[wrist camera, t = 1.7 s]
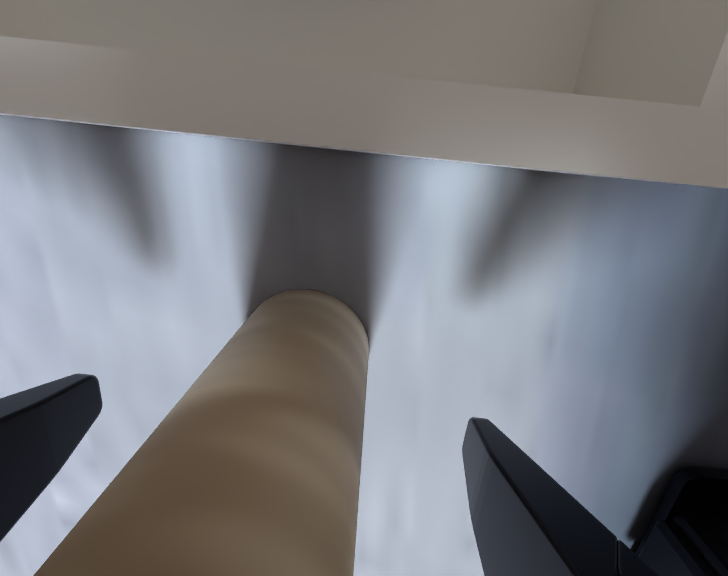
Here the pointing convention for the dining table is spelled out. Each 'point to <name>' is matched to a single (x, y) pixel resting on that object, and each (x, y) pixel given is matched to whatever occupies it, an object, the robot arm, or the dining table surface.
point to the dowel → (244, 460)
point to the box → (393, 77)
